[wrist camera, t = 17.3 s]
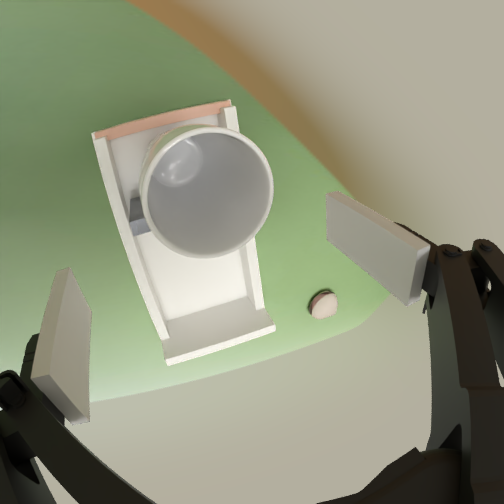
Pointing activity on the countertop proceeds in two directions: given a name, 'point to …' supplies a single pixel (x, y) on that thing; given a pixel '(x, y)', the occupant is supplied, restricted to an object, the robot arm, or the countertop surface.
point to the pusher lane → (176, 265)
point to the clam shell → (324, 305)
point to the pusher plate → (137, 218)
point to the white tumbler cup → (205, 190)
